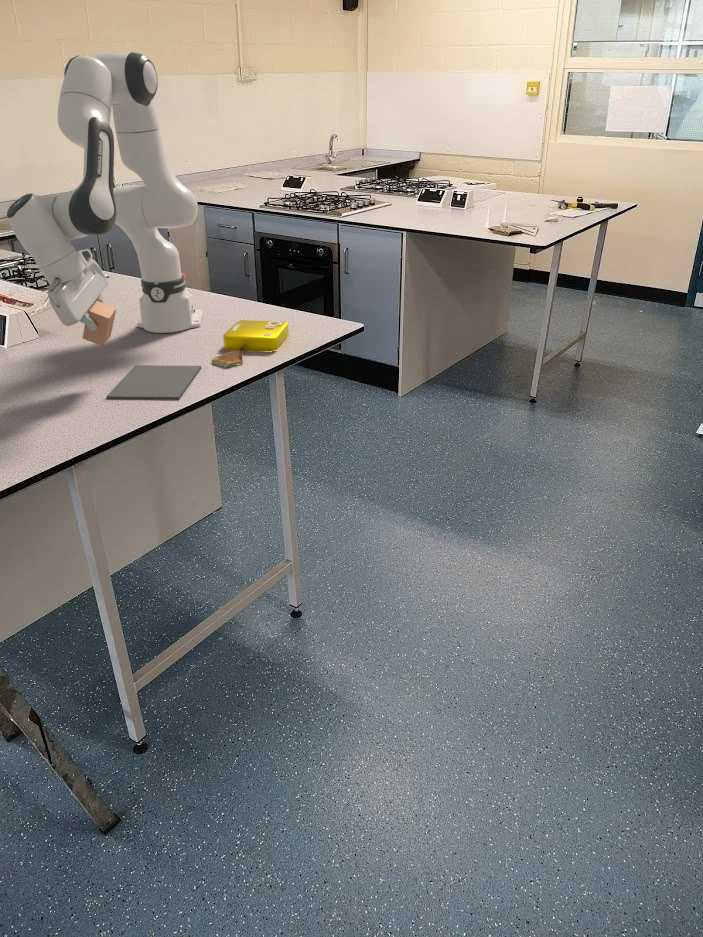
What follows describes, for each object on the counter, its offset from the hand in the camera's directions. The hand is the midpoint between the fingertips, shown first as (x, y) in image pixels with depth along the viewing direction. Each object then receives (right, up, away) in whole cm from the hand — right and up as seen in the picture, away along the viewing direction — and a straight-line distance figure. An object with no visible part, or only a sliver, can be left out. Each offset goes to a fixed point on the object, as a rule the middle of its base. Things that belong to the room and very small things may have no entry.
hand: (100, 322), depth 168 cm
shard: (+26, -7, +19) cm, 33 cm away
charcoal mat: (+12, -13, +6) cm, 19 cm away
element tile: (+33, 0, +31) cm, 45 cm away
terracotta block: (-2, -3, +3) cm, 4 cm away
